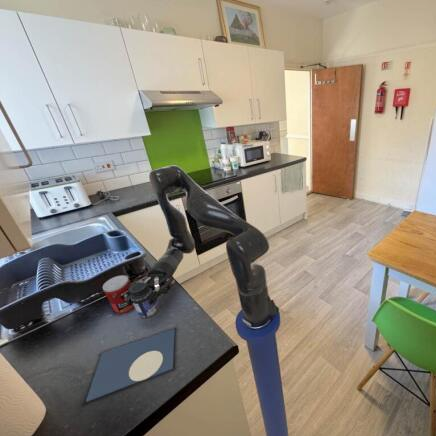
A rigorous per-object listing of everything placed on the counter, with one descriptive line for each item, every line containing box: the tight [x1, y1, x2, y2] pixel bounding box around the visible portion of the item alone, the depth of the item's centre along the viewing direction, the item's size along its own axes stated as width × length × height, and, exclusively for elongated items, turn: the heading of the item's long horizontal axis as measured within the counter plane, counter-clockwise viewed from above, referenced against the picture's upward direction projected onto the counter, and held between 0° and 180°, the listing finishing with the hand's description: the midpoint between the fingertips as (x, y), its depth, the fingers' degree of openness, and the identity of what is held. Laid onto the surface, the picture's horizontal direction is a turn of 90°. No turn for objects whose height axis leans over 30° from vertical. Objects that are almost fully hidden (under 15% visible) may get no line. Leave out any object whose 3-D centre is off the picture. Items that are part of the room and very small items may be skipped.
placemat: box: [85, 328, 176, 403], centre depth 68 cm, size 20×14×1 cm
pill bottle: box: [130, 282, 161, 320], centre depth 76 cm, size 6×6×11 cm
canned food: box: [102, 274, 135, 314], centre depth 85 cm, size 8×8×11 cm
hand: (139, 303), depth 74 cm, fingers closed on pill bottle, 6 cm apart
